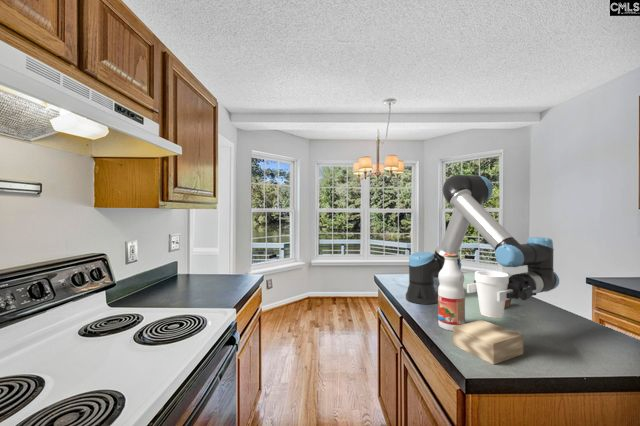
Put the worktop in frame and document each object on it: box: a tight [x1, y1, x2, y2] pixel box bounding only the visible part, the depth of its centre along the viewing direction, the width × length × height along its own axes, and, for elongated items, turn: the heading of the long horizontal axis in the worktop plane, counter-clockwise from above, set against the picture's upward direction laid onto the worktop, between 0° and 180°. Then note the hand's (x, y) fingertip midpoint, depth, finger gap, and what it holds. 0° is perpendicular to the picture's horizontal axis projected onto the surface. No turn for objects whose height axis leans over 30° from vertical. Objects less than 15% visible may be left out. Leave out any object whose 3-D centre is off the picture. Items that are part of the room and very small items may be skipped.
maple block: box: [452, 319, 524, 365], centre depth 94 cm, size 14×14×6 cm
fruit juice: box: [437, 253, 466, 332], centre depth 112 cm, size 9×9×28 cm
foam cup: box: [474, 270, 510, 319], centre depth 94 cm, size 10×9×13 cm
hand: (482, 292), depth 92 cm, fingers closed on foam cup, 9 cm apart
